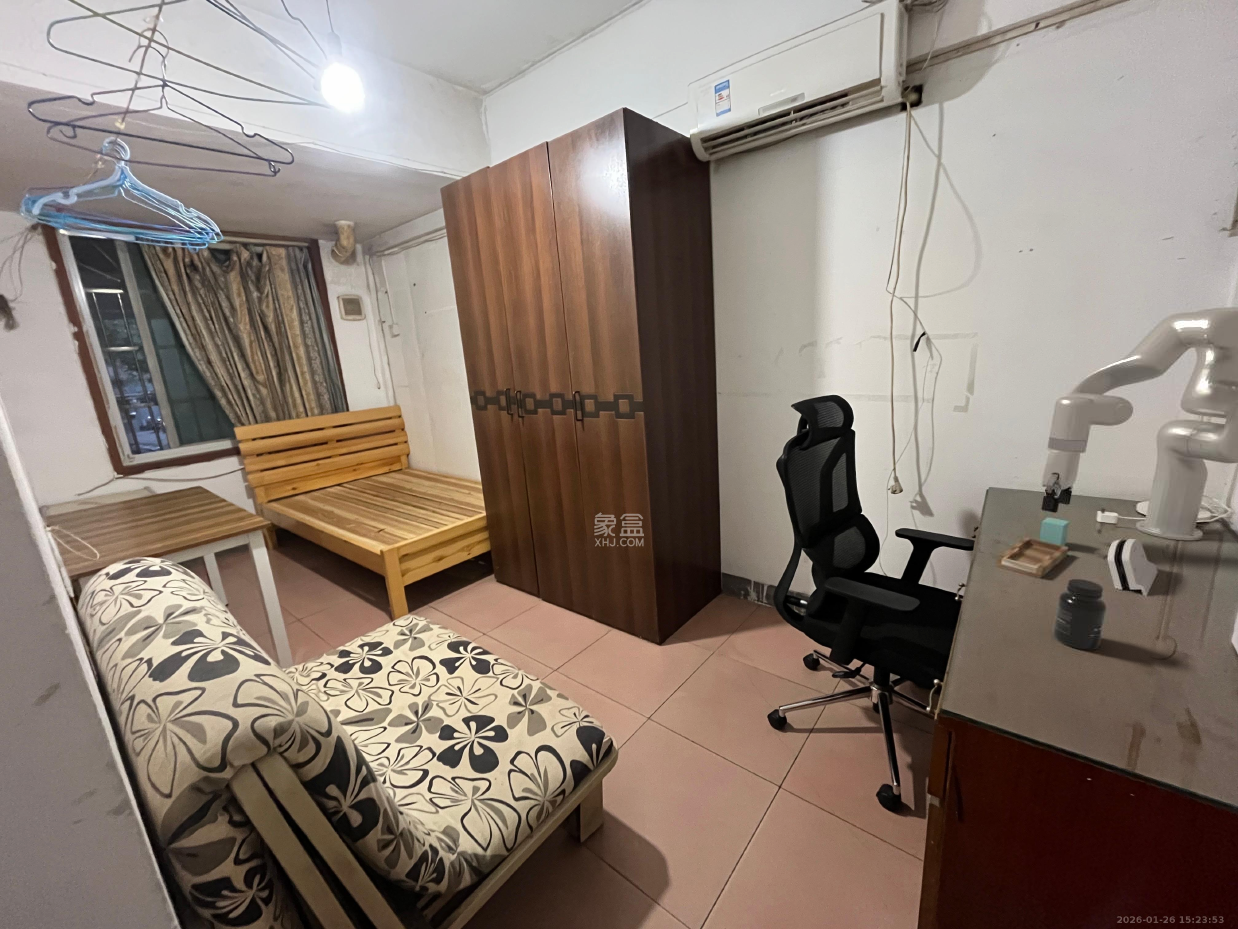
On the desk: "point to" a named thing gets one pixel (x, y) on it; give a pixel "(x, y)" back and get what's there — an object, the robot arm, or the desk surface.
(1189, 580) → the desk surface
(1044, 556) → the slot board
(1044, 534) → the aqua rectangular block
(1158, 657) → the desk surface
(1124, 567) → the white piece
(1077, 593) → the supplement bottle
